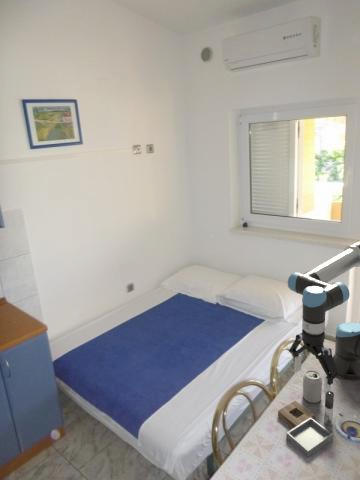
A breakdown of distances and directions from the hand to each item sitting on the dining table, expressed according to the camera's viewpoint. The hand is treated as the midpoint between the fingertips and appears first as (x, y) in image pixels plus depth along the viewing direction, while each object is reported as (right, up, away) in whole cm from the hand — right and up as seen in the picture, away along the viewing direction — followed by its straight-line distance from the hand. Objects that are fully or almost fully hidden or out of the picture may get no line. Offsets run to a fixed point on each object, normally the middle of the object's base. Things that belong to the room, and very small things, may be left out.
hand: (312, 380), depth 137 cm
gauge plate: (-2, -20, +13) cm, 24 cm away
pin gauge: (+10, -20, +9) cm, 24 cm away
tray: (0, -23, +3) cm, 23 cm away
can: (+8, -16, +23) cm, 30 cm away
